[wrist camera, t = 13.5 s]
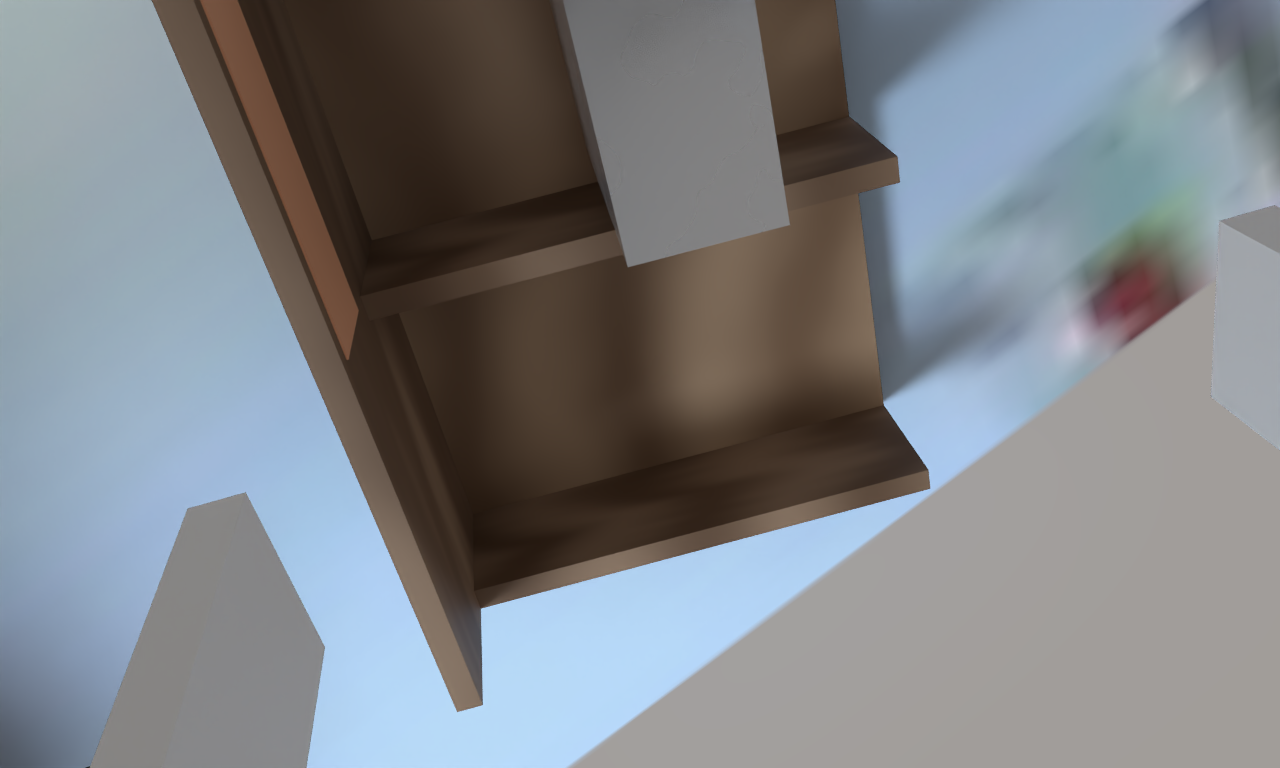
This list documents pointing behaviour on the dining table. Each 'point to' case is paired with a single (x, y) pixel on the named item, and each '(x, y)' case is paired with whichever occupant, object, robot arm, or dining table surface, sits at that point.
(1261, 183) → the dining table surface
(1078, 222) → the dining table surface
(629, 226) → the block
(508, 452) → the rack
